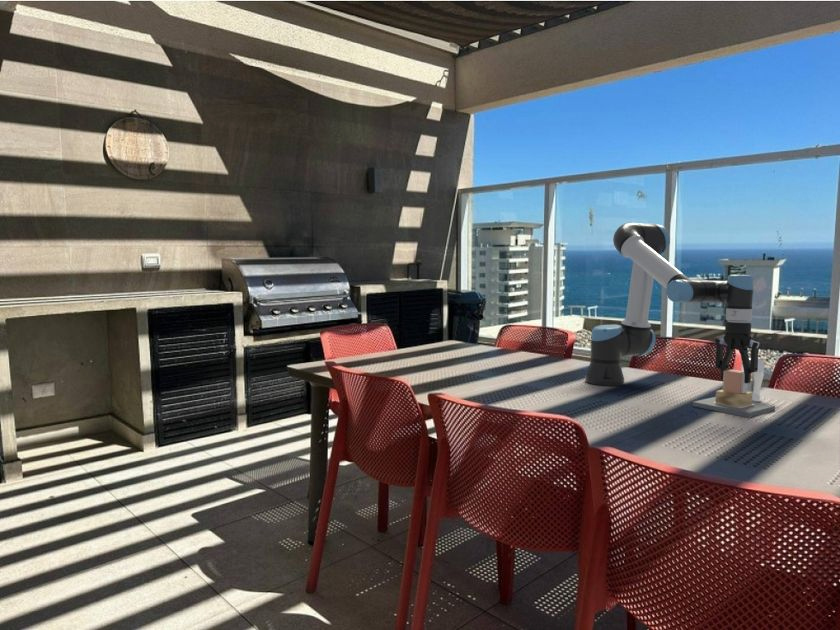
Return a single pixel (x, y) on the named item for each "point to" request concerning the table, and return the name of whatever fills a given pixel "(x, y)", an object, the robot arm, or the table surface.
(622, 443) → the table surface
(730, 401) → the oak base block
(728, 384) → the terracotta block
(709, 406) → the build board
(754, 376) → the beer glass
